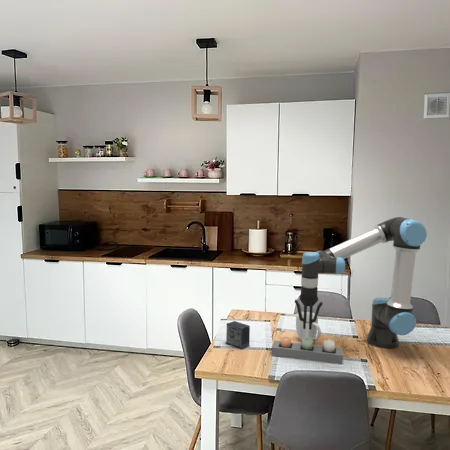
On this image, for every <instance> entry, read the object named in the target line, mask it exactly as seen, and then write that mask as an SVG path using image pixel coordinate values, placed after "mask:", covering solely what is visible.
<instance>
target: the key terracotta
mask: <svg viewBox="0 0 450 450" xmlns="http://www.w3.org/2000/svg"><path fill="white" fill-rule="evenodd" d="M279 341H280V347H283V348H291V342H292V338H291V337H289V336H281V337H280V340H279Z"/></svg>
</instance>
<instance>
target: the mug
mask: <svg viewBox="0 0 450 450" xmlns="http://www.w3.org/2000/svg"><path fill="white" fill-rule="evenodd" d="M301 312H302V317H303V318H304V311H301ZM309 313H310V311H307V318H306V319H307V320H306V321H309ZM314 316H315V312H312V319H314ZM295 330H296V334H297V337H298V339H299V340H300V341H301V342H302V338H303V337H305V331H306V329H303V321H300V319H299V314H298V312H297V313H296V314H295ZM316 335H317V336H316ZM321 335H322V331H321V327H320V325H319V316H317V319H316V322H313V323H312V329H311V330H310V329H309V337H310V338H312V339H313V340H319V339H320V337H321Z"/></svg>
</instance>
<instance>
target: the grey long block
mask: <svg viewBox="0 0 450 450" xmlns="http://www.w3.org/2000/svg"><path fill="white" fill-rule="evenodd" d="M270 350H271V351H270V353H271V356H272V357H280V358H285V359H286V358H288V359H295V360H296V359H297V360H305V361H313V362H320V363H328V364H338V365H343V347H339V346H338V347H336V346H335V351H334V352H327V351H324V345H320V344H319V345H318V344H313V348H312V349H303V348H302V342H301V343H299V342H294V341H293V342H292V341H291V348H283V347H280V340H273V343H272V346H271V349H270Z"/></svg>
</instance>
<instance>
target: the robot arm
mask: <svg viewBox="0 0 450 450" xmlns="http://www.w3.org/2000/svg"><path fill="white" fill-rule="evenodd" d="M427 234H428V232H427V228H426V226H425V225H424V224H423V223H422V222H421V221H418V220H416V219H415V218H407V217H401V216H396V217H392V218H389V219H387V220H385V221H383V222H381V223H378V224H376V225H374V228H372V229H370V230H368V231H365V232H364V233H361V234H359V235H356V236H355V237H351V238H350V239H348V240H346V241H343V242H341V243H339V244H337V245H335V246H332V247H330V248H327V249H326V250H318V251H316V252H315V251H314V252H311V251H310V252H309V251H308V252H306V251H305V252H304V253H303V254H302V259H301V277H300V278H301V280H300V281H301V283H300V285H301V286H300V295H299V298H296V299H294V304H295V305H296V308H297V313H298V314H299V319H300V321H303V329H306V331H305V337H309V329H310V330H311V329H312V323H313V322H316V319H317V316H318V315H319V312H320V309H321V307H322V306H323V301H321V300H319V297H318V289H319V288H318V284H319V274H325V275H329V274H330V275H338V274H344V273H345V271H346V262H345V259H347V258H349V257H352V256H354V255H356V254H358V253H361V252H363V251H365V250H367V249H370V248H372V247H374V246H376V245H379V244H380V243H382V244H385V243H388V242H392V241H393V243H392V244H393V245H392V247H393V248H394V250H395V258H394V264H393V266H394V267H393V275H392V284H391V294H390V297H376V298H373V299H372V304H371V326H370V327H369V331H368V333H367V336H366V341H367V343H368V344H370V345H372V346H374V347H377V348H382V349H395V348H397V347H398V346H399V342H400V341H399V337H398V336H407V335H409V334H411V332H413V331H414V330H415V328H416V326H417V319H416V316H415V315H414V314H413V311H414V307H413V304H411V299H412V298H411V297H412V289H413V282H414V281H413V280H414V274H415V273H414V272H415V271H414V270H415V263H416V256H417V255H416V253H417V252H419V251H420V250H421V245H423V243H425V241H426V240H427ZM300 303H301V304H302V305H303V311H302V309H301V304H300ZM315 305H317V307H316V310H315V312H314V313H315V316H314V319H312V313H313V311H314V309H313V307H314V306H315ZM308 307H309V312H310V313H309V321H306V320H307V319H306V318H307V312H308ZM302 312H304V318H303V317H302ZM318 317H319V316H318Z"/></svg>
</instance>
